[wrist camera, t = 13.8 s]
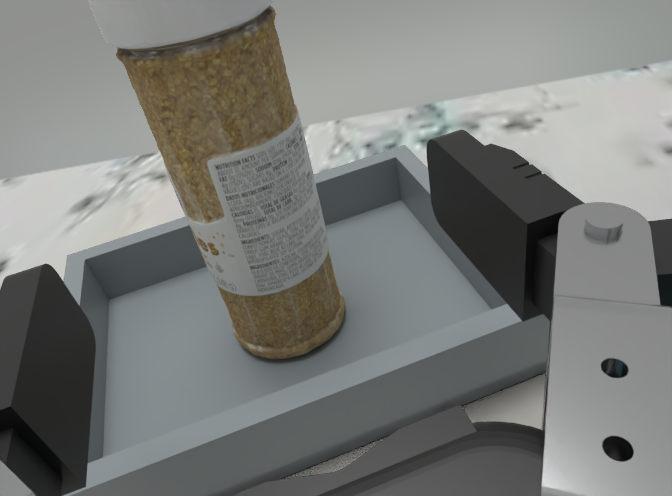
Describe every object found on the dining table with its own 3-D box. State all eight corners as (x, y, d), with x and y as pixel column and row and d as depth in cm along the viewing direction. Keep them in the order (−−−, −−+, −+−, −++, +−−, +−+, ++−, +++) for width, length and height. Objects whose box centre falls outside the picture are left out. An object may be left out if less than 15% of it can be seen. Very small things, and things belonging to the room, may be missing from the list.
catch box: (410, 197, 27) (404, 145, 26) (557, 367, 18) (564, 304, 16) (98, 303, 25) (67, 255, 23) (81, 559, 16) (27, 511, 14)
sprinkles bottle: (222, 310, 22) (66, -46, 14) (320, 266, 24) (227, -89, 15) (256, 386, 19) (75, -28, 11) (369, 330, 20) (282, -84, 12)
